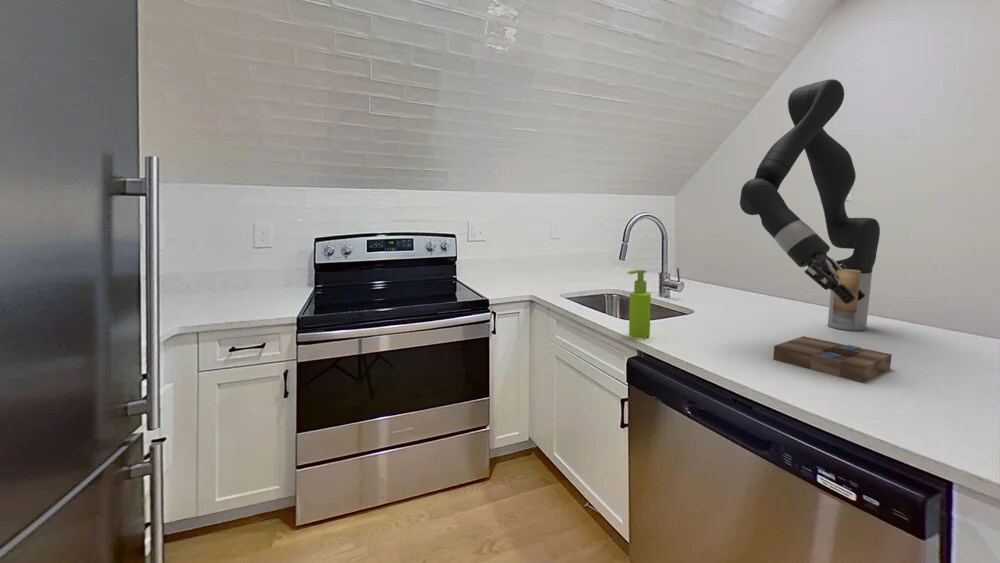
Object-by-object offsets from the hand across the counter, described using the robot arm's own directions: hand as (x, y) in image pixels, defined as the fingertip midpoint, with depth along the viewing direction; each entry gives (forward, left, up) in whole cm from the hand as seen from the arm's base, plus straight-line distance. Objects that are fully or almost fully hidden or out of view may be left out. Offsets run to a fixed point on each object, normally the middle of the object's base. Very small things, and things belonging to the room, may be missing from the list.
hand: (856, 299), depth 96 cm
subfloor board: (0, -4, -16) cm, 17 cm away
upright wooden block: (0, -2, -6) cm, 6 cm away
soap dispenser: (+18, -46, -16) cm, 52 cm away
